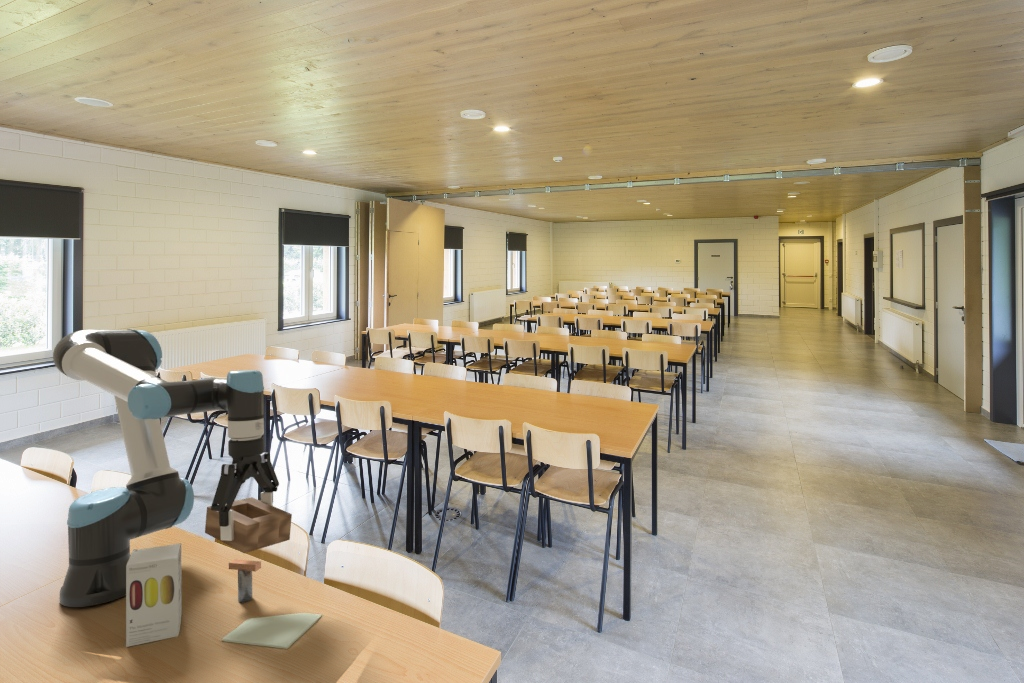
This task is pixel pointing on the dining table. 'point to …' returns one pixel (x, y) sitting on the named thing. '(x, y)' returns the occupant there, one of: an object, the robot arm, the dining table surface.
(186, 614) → the dining table surface
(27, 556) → the dining table surface
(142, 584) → the supplement box
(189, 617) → the dining table surface
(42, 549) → the dining table surface
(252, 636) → the mat
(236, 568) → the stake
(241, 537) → the brown hollow elongated block
